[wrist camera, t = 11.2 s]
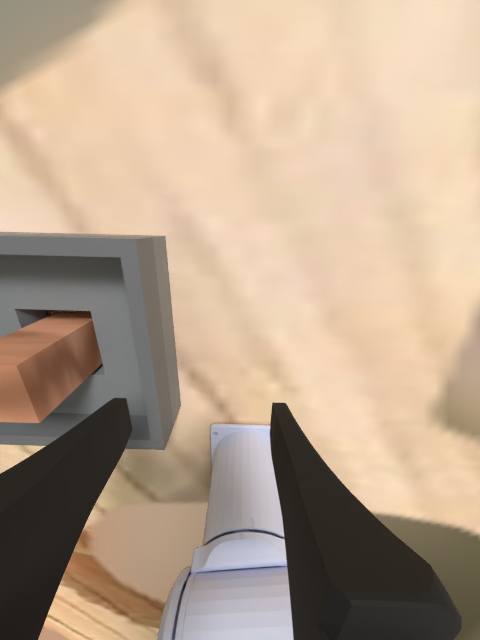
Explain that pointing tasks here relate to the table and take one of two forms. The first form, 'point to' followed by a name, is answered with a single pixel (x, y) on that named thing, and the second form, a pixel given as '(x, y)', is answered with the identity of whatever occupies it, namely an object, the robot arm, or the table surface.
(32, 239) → the hole box
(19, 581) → the robot arm
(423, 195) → the table surface
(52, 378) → the peg
